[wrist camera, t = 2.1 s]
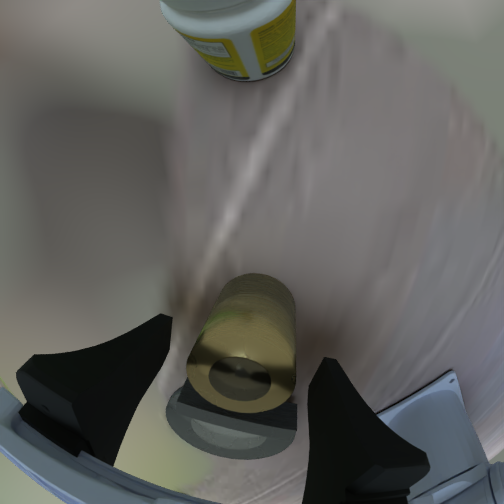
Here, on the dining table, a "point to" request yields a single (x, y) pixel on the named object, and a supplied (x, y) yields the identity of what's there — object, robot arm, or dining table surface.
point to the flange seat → (230, 426)
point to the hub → (247, 347)
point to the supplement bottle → (237, 33)
